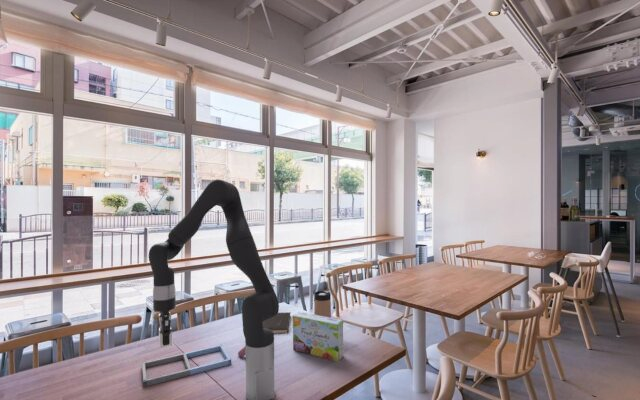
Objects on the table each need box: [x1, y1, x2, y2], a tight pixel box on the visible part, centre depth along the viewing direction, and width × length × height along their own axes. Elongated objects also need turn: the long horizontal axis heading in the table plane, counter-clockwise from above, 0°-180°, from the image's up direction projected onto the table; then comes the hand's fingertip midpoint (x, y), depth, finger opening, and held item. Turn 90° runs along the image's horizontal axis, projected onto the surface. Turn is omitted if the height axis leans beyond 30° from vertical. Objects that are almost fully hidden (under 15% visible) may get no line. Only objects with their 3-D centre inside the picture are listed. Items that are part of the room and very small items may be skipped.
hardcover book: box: [263, 311, 292, 334], centre depth 169 cm, size 16×23×2 cm
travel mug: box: [313, 290, 332, 318], centre depth 153 cm, size 8×8×20 cm
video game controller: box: [237, 345, 246, 358], centre depth 139 cm, size 10×5×7 cm, turn 169°
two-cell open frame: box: [141, 344, 232, 388], centre depth 128 cm, size 15×30×2 cm, turn 120°
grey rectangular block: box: [158, 326, 173, 349], centre depth 124 cm, size 4×4×6 cm
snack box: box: [292, 311, 344, 362], centre depth 137 cm, size 21×6×15 cm, turn 62°
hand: (165, 342), depth 124 cm, fingers closed on grey rectangular block, 4 cm apart
